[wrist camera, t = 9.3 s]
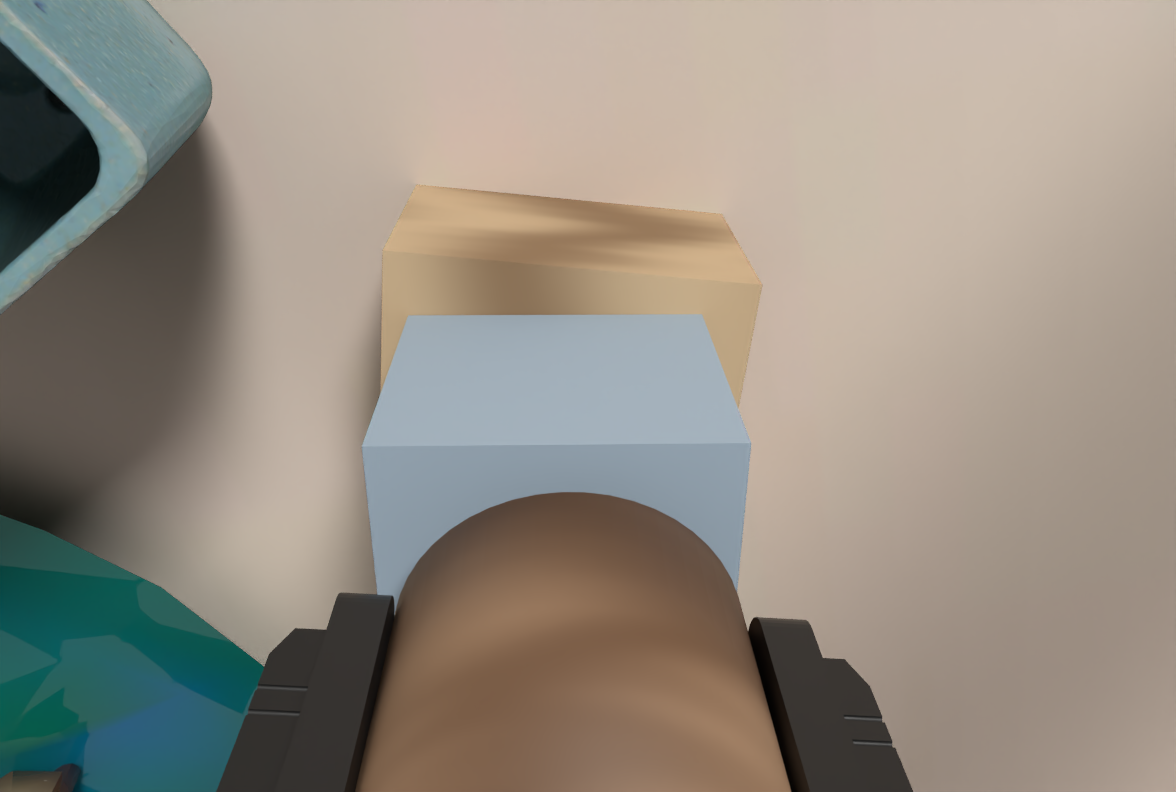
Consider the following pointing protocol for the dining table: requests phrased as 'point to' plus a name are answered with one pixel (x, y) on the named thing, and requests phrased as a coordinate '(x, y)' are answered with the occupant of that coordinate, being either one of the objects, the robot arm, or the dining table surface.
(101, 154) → the flower pot
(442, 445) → the mid block
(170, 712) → the sailing ship model
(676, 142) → the dining table surface
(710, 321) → the base block
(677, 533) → the brown rounded cylinder
